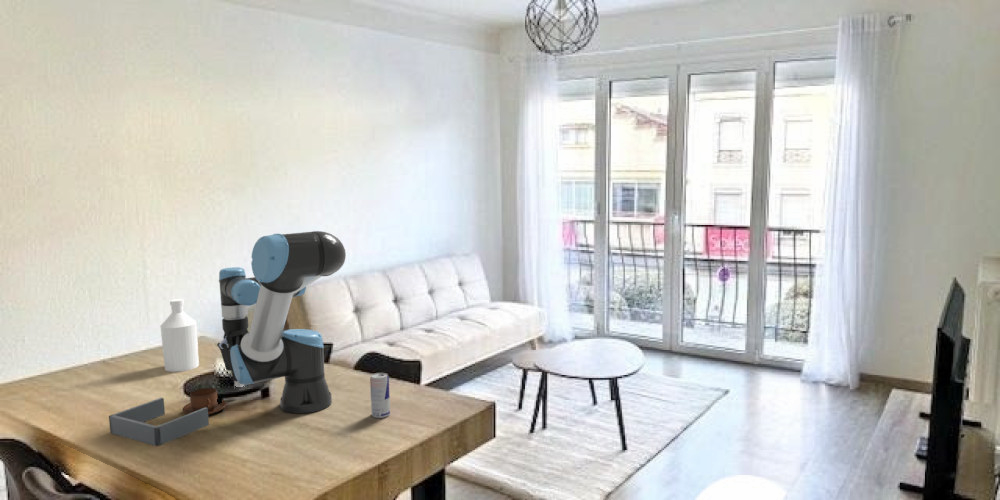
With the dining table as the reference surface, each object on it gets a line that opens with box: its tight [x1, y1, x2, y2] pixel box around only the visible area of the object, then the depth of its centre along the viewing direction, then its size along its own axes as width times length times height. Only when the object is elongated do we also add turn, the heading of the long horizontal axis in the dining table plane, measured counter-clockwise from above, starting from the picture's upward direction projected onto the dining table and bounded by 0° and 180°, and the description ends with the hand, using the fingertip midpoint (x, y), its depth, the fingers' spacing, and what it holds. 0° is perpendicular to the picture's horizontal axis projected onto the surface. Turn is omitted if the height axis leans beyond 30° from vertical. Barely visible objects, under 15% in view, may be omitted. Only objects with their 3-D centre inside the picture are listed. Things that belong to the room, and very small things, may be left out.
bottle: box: [160, 298, 200, 373], centre depth 243 cm, size 12×12×25 cm
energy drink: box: [369, 372, 391, 419], centre depth 194 cm, size 5×5×12 cm
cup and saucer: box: [182, 387, 227, 416], centre depth 200 cm, size 12×12×6 cm
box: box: [108, 397, 210, 447], centre depth 187 cm, size 20×16×5 cm
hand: (239, 389), depth 211 cm, fingers closed
